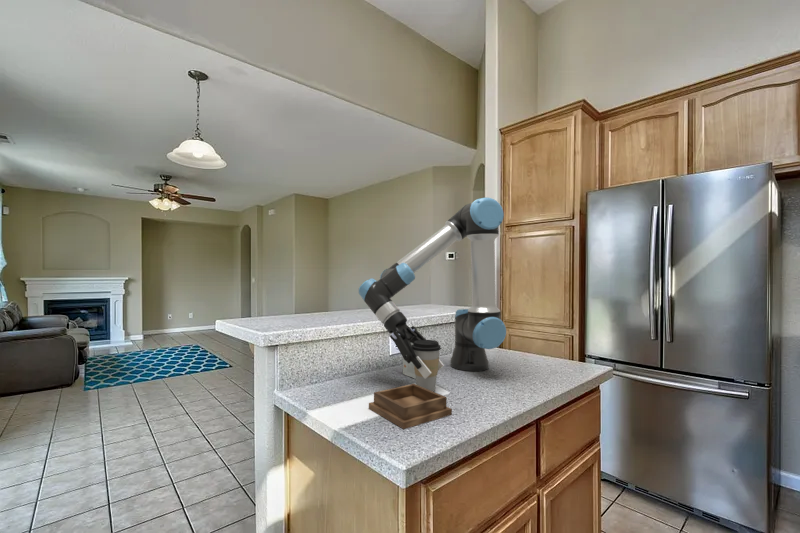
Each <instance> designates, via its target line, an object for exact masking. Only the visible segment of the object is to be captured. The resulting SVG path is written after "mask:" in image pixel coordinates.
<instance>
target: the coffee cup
mask: <svg viewBox="0 0 800 533" xmlns="http://www.w3.org/2000/svg"><path fill="white" fill-rule="evenodd" d="M412 348H413V350H414V352H415V355H416V357H417V356H419V358H420V359H421V360H422V361H423V363H424V364H425V365H426V366H427V368H428V369H429V370H430V371H431V374H430V375H429V376H428V377H427V378H426V379H425V378H424V377H423V376H422V375H421V373H420V372H419V371H418V369H417V368H416V367H415V366H414V370H415V376H416V379H415V384H416V385H418V386H421V387H423V388H425V389H428V390H430V391H433V392H435V391H436V386H437V376H438V373H439V371H438V364H439V360H440V351H441V349H442V348H441V345H440V344H439V341H437V340H434V339H433V340H432V339H426V340H416V341H414V344H413V345H412Z"/></svg>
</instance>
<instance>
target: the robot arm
mask: <svg viewBox="0 0 800 533" xmlns="http://www.w3.org/2000/svg"><path fill="white" fill-rule="evenodd" d="M504 214H505V213H504V210H503V207H502V205H501V204H500V203H499V201H497V200H496V199H495V198H492V197H488V196H487V197H482V198H481V197H480V198H477V199H475V200H474V201H472V202H469V203H467V204H465V205H463V206H462V207H461V208H460V209H459V210H458V211H457V212H456V213H455V214H453V215H452V216H451V217H450V218H449V219H448V220H446V221H445V223H444V226H443V227H441V228H439V229H438V230H437V231H436V232H435V233H433V234H432V235H430V236H429V237H428V238H426V239H425V240H424V241H422V243H420V244H418V245H417V246H416V247H415V248H413V249H412V250H411V251H410V252H408V253H407V254H405V255H404V256H403V257H401V258H400V259H399V260H398V261H396V262H395V263H393V264H392V265H391V266H390V267H388V268H386V269H384V270H383V271H382V272H381V274H380V277H379V278H380V279H378V280H376V279H374V278H369V279H367V280H365V281H363V283H362V284H360V286H359V288H358V294H359V296H360V297H361V298H362V300H363V301H364V303H365V304H366V306H368V308H369V309H370V310H371V312H372V313H373V314H374V316H376V318H377V319H378V322H380V323H381V324H382V325H383V326H384V329H386V330H387V332H388V333H389V334H390V335H389V337H390V339H391V340H392V342H393V343H394V344H395V346H396V348H397V350H398V351H399V353H400V355H401V356H402V359H403V358H404V360H405V361H407V362H408V363H410V362H412V363H413V364H414V366H415V367H416V368H417V369H418V371H419V372H420V373H421V375H422V376H423V377H424V378H425V379H426V378H427V377H428V376H429V375H430V374H431V371H430V370H429V369H428V368H427V366H426V365H425V364H424V363H423V361H422V360H421V359H420V358H419V356H417V357H416V355H415V352H414V350H413V348H412V345H411V343H413V344H414V341H416V340H427V339H426V338H425V337H424V336H423V335H422V334H421V333H420V332H419V331H418V330H417V328H416V327H415V326H414V325H412V326H408V324H407V323H408V322H407V321H408V318H407V317H406V316H405V314H404V313H403V312H402V311H400V308H399V307H398V306H397V305H396V303H395V302H394V301H393V300H392V298H394V297H395V295H397V294H398V293H399V292H401V291H402V290H403V289H405V288H406V287H407V286H408V285H409V286H410V285H411V283H412V282H413V281H414V280H415V279H416V275H415V273H416V272H418V270H420V269H422V268H423V267H424V266H425V265H427V264H428V263H429V262H430V261H432V260H433V259H435V258H436V257H437V256H438V255H440V254H441V253H442V252H444V251H445V250H446V249H448V248H450V246H452V245H453V244H454V243H455V242H461V241H462V240H464V239H465V238H467V239H468V240H469V241H470V272H471V273H470V274H471V277H470V278H471V280H470V281H471V306H470V307H469V308H465V309H463V308H461V309H459V308H458V309H457V310H456V311H455V315H454V348H453V351H452V354H451V357H450V360H449V361H450V364H449V365H450V366H451V368H453V369H456V370H459V371H466V372H467V371H468V372H481V371H485V370H488V369H489V368H490V367H489V366H490V365H489V364H490V363H489V362H490V361H489V360H488V357H487V352H486V350H492V349H497V348H498V347H499V346H500V345H501V344H502V343H503V342H504V341H505V338H506V336H507V328H506V324H505V322H504V321H503V320H502V319H501V309H499V307H498V306H497V303H496V302H497V299H496V298H497V296H496V294H497V292H496V291H497V290H496V256H495V255H496V254H495V253H496V252H495V250H496V249H495V248H496V247H495V241H496V239H497V238H498V237H499V235H500V234H499V227H500V225H501V224H502V223H503V221H504V216H505V215H504ZM406 355H407V356H406ZM443 367H445V365H444V363H443V361H441V360H440V359H439V364H438V372H439V371H440V370H441V369H442V368H443Z"/></svg>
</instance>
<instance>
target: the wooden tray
mask: <svg viewBox="0 0 800 533" xmlns="http://www.w3.org/2000/svg"><path fill="white" fill-rule="evenodd" d="M368 409H369V410H370V411H372V412H373V413H375V414H378V415H379V416H380V417H382V418H384V419H386V420H387V421H389V422H391V423H393V424H394V425H396V426H397V427H399V428H401V429H403V430H405V429H409V428H412V427H416V426H419V425H422V424H425V423H426V424H427V423H429V422H431V421H435V420H439V419H441V418H445V417H448V416H451V415H452V413H453V412H452V411H453V410H452V408H451V407H449V406H447V396H445V395H442V394H440V393H437V392H435V391H430V390H428V389H425V388H423V387H421V386H418V385H416V383H411V384H407V385H401V386H398V387H391V388H388V389H383V390H378V391H374V392H373V401H372V402H368Z"/></svg>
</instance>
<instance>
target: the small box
mask: <svg viewBox="0 0 800 533" xmlns="http://www.w3.org/2000/svg"><path fill="white" fill-rule="evenodd" d="M411 345H413V343H411ZM406 356H407V355H406ZM402 375H404V376H407V377H410V378H412V379H414V380H416V376H415V370H414V364H413V363H412V362H410V363H408V362H407V361H405V360H404V358H403V357H402Z"/></svg>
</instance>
